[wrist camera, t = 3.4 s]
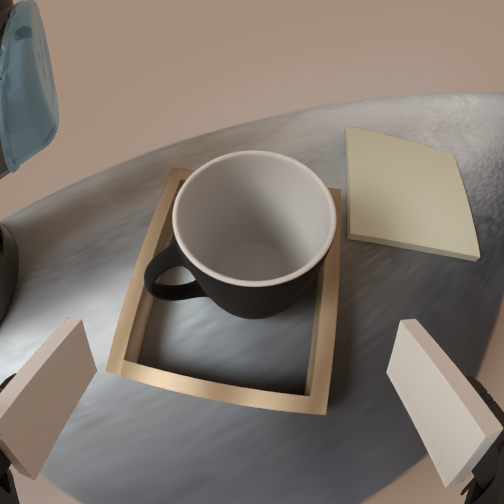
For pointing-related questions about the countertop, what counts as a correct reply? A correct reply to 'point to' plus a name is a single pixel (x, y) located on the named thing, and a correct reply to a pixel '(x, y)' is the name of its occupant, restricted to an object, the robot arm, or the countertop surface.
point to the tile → (406, 196)
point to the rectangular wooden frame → (126, 365)
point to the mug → (247, 233)
